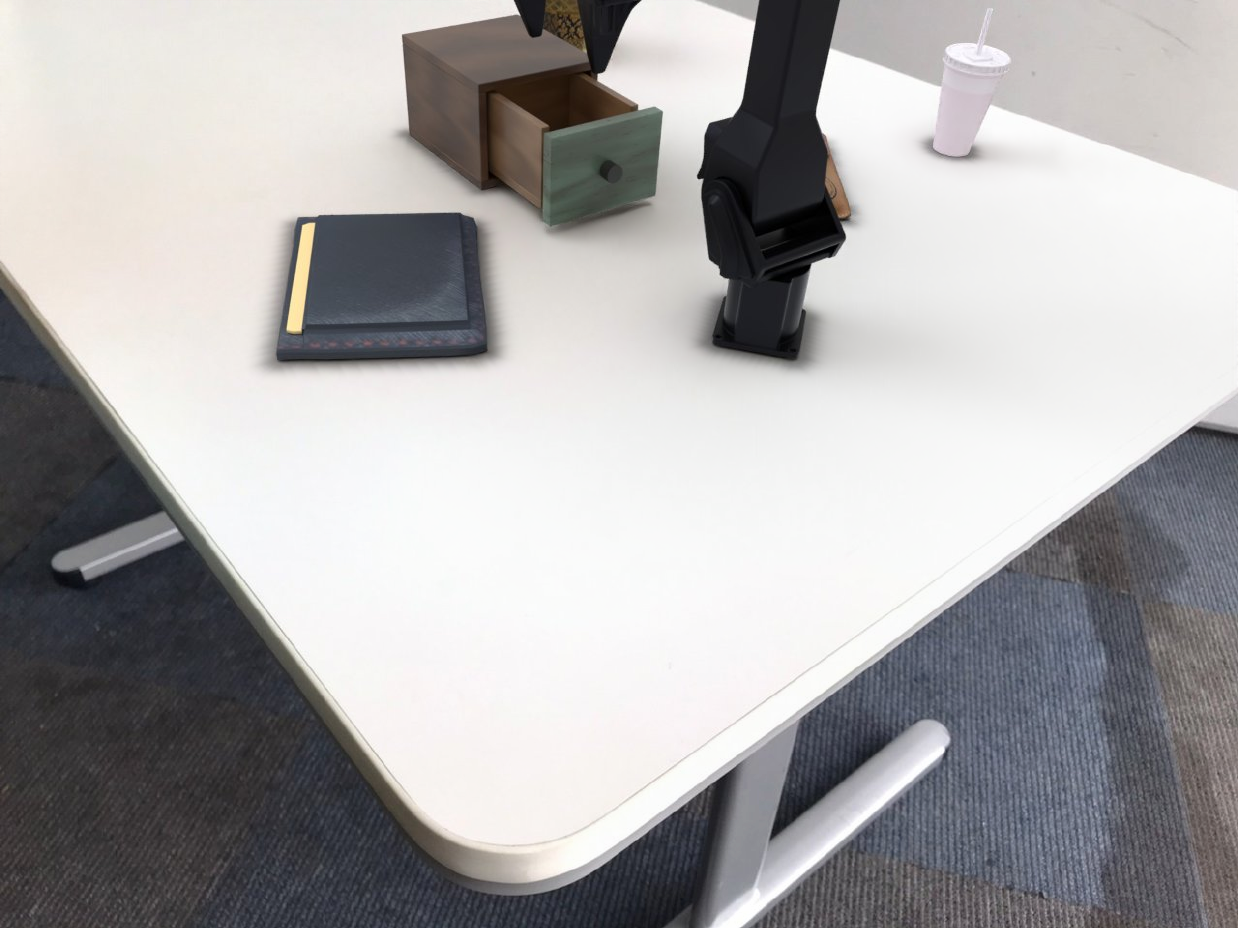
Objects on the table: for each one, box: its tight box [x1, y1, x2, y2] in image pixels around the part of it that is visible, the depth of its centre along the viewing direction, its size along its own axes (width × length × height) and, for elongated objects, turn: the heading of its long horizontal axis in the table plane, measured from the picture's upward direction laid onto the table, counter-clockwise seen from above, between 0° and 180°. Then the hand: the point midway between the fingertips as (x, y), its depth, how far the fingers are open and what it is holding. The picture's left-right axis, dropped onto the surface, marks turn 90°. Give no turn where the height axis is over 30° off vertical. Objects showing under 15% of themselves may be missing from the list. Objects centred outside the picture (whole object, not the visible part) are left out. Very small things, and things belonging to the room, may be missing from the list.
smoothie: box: [932, 7, 1012, 158], centre depth 101 cm, size 6×6×14 cm
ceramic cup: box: [543, 0, 587, 53], centre depth 117 cm, size 13×10×10 cm
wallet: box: [275, 212, 488, 361], centre depth 79 cm, size 20×2×15 cm
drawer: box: [486, 72, 664, 228], centre depth 89 cm, size 14×11×8 cm
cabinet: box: [401, 14, 599, 191], centre depth 96 cm, size 14×13×10 cm
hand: (566, 54), depth 85 cm, fingers open, 9 cm apart
